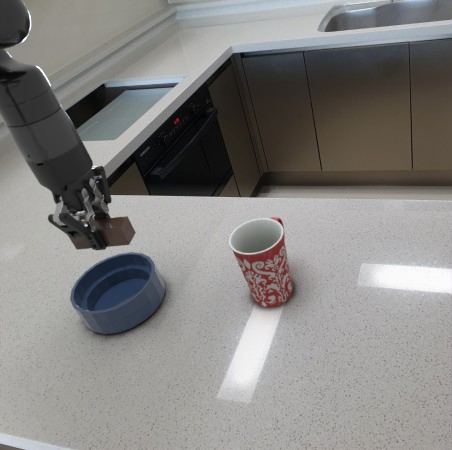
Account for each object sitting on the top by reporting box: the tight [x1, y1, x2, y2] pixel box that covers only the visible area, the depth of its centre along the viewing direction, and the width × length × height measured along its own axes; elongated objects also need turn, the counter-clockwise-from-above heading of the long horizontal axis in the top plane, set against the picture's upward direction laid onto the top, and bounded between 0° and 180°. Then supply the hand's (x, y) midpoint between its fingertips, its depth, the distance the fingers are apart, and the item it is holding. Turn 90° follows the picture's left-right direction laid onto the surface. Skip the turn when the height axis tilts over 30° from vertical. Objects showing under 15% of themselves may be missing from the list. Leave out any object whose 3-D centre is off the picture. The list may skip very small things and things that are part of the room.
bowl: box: [69, 251, 166, 335], centre depth 85 cm, size 15×15×6 cm
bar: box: [67, 215, 137, 250], centre depth 72 cm, size 9×3×3 cm, turn 86°
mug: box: [228, 216, 294, 308], centre depth 79 cm, size 13×9×14 cm
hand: (105, 240), depth 73 cm, fingers closed on bar, 3 cm apart
